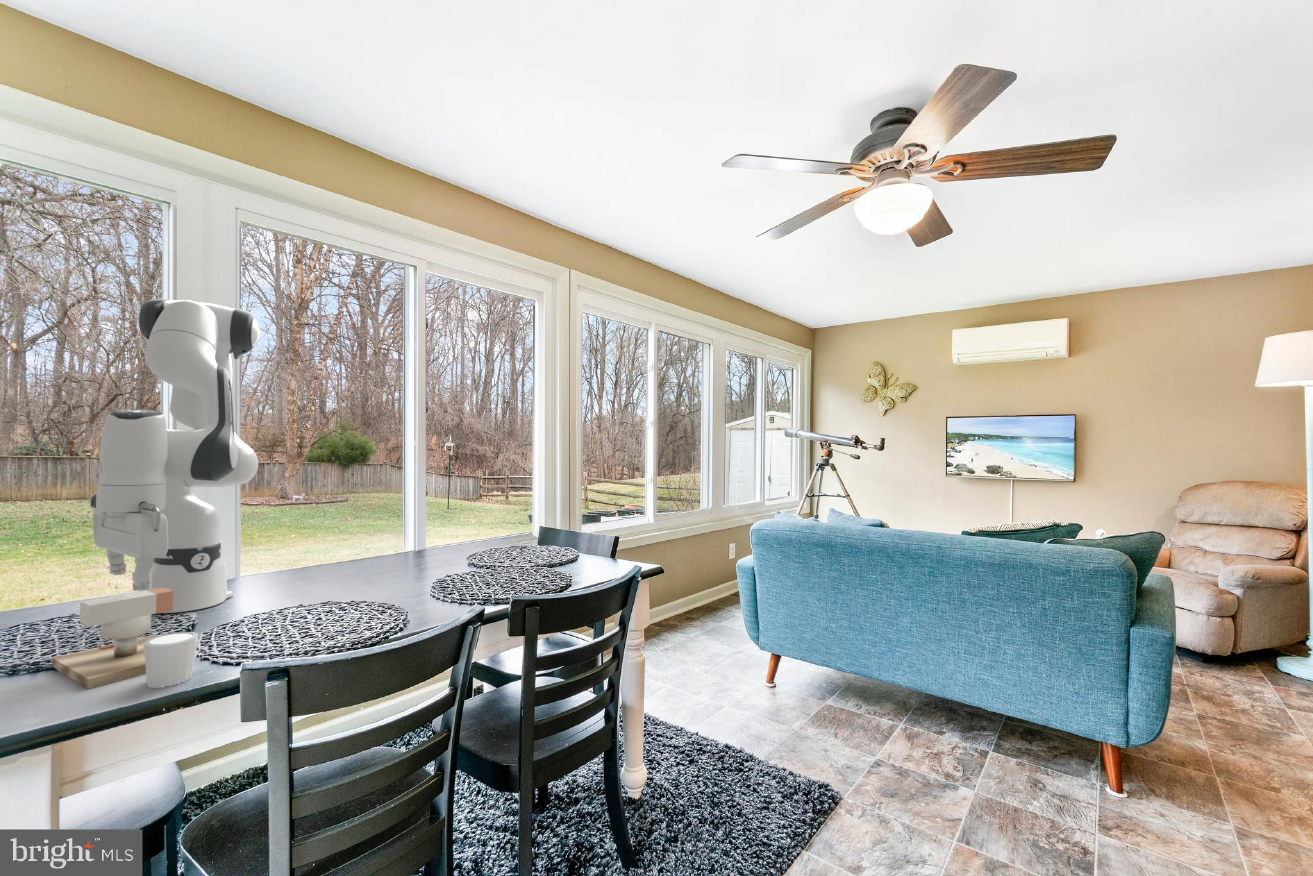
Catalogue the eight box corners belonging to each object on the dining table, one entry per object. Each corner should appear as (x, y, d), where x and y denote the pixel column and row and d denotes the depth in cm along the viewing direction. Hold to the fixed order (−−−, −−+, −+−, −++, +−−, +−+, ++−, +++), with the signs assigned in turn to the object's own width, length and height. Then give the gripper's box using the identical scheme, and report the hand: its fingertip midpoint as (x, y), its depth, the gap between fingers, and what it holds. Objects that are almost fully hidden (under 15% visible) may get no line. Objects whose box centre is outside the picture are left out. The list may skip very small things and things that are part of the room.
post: (110, 655, 97) (111, 635, 97) (132, 650, 100) (133, 630, 100) (117, 659, 95) (118, 638, 96) (140, 653, 98) (140, 633, 98)
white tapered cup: (131, 691, 87) (133, 647, 87) (157, 673, 94) (159, 632, 94) (182, 687, 89) (184, 644, 89) (205, 670, 96) (206, 630, 96)
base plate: (51, 666, 95) (52, 656, 95) (154, 642, 107) (155, 633, 107) (88, 688, 88) (88, 678, 88) (194, 659, 100) (195, 650, 100)
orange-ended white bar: (76, 638, 94) (77, 600, 94) (158, 621, 104) (160, 586, 104) (90, 646, 91) (92, 606, 91) (174, 627, 101) (176, 591, 101)
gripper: (182, 503, 96) (178, 583, 95) (131, 494, 105) (127, 567, 105) (134, 506, 90) (130, 590, 90) (85, 497, 100) (82, 573, 100)
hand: (128, 578), depth 98 cm, fingers open, 8 cm apart
